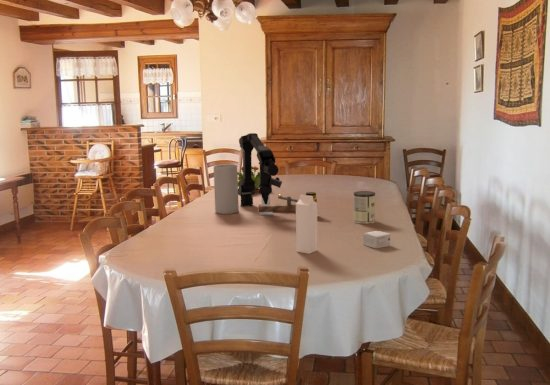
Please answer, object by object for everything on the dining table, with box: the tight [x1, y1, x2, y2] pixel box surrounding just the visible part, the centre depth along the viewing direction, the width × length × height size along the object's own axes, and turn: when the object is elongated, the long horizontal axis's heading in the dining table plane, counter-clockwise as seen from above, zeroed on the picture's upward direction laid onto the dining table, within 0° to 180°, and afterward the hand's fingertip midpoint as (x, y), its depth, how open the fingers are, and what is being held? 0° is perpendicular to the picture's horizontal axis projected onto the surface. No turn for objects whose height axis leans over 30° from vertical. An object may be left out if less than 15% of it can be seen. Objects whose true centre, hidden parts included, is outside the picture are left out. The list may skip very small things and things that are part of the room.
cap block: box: [261, 194, 272, 206], centre depth 279 cm, size 4×4×5 cm
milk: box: [295, 194, 318, 255], centre depth 206 cm, size 6×6×22 cm
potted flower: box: [237, 165, 260, 193], centre depth 353 cm, size 25×24×18 cm
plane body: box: [258, 196, 296, 213], centre depth 288 cm, size 20×6×7 cm, turn 92°
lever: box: [277, 194, 299, 203], centre depth 288 cm, size 12×2×2 cm, turn 92°
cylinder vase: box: [213, 163, 240, 215], centre depth 285 cm, size 12×12×25 cm
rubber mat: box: [259, 212, 274, 217], centre depth 280 cm, size 7×7×1 cm
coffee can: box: [353, 190, 376, 225], centre depth 257 cm, size 10×10×14 cm
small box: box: [362, 230, 391, 249], centre depth 214 cm, size 8×8×5 cm
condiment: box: [305, 191, 320, 217], centre depth 272 cm, size 7×8×12 cm
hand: (266, 203), depth 279 cm, fingers closed on cap block, 4 cm apart
